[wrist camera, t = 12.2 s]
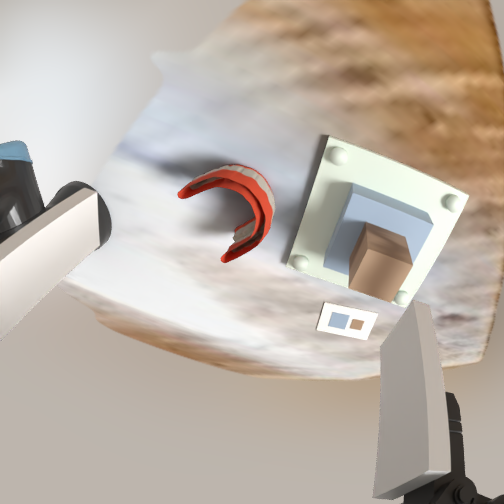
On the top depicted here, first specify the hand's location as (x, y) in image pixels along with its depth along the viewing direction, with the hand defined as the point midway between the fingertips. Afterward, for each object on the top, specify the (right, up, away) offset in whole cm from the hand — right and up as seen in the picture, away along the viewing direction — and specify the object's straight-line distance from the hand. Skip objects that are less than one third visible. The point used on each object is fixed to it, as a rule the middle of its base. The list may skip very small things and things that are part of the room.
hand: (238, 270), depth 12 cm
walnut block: (+18, +1, +30) cm, 34 cm away
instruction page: (+18, -12, +44) cm, 49 cm away
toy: (0, +10, +37) cm, 38 cm away
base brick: (+19, +4, +33) cm, 38 cm away
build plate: (+19, +4, +34) cm, 39 cm away
